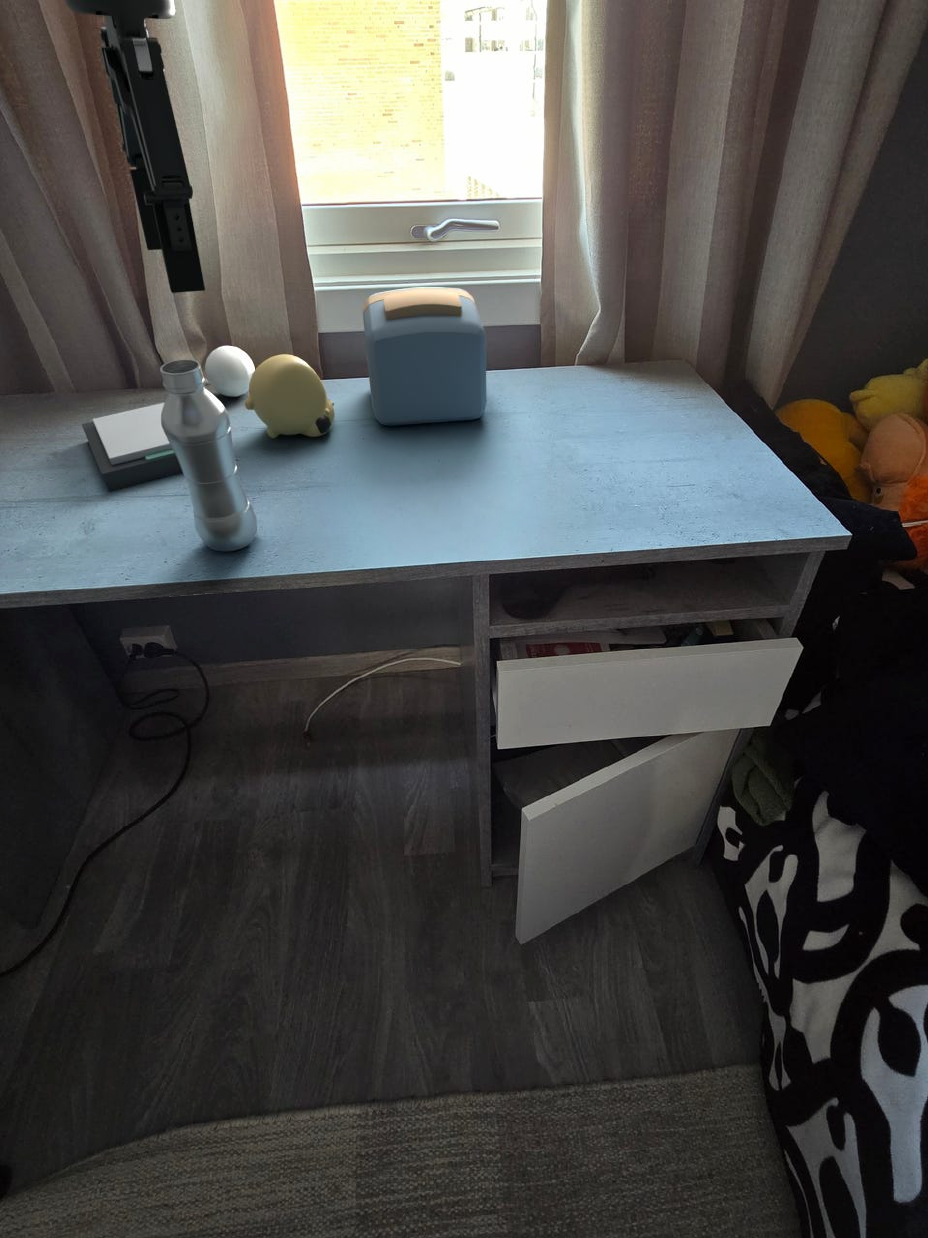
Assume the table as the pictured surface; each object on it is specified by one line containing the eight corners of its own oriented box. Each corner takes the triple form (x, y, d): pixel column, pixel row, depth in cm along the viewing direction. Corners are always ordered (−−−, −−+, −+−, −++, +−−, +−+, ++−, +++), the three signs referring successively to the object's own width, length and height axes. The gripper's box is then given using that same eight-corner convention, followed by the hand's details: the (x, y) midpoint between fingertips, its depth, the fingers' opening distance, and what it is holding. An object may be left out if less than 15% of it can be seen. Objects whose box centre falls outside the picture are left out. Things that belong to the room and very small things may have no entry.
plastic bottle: (232, 565, 74) (177, 386, 61) (189, 547, 77) (127, 371, 64) (273, 536, 78) (231, 361, 65) (231, 519, 81) (182, 348, 68)
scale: (108, 491, 86) (98, 466, 84) (88, 440, 97) (78, 417, 94) (234, 458, 92) (227, 433, 90) (202, 413, 103) (195, 390, 100)
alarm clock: (472, 377, 111) (471, 270, 100) (488, 422, 99) (489, 306, 88) (370, 384, 109) (359, 277, 99) (374, 431, 97) (362, 314, 87)
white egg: (256, 403, 105) (245, 355, 100) (207, 405, 105) (193, 357, 100) (267, 377, 112) (257, 331, 107) (221, 378, 112) (209, 332, 107)
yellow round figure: (298, 469, 97) (348, 421, 92) (225, 412, 91) (274, 357, 86) (307, 434, 104) (354, 388, 99) (240, 379, 98) (286, 327, 93)
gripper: (197, -58, 42) (248, 307, 56) (140, -49, 58) (191, 232, 72) (60, -72, 39) (150, 316, 53) (41, -59, 55) (114, 235, 69)
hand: (174, 268), depth 63 cm, fingers open, 13 cm apart
